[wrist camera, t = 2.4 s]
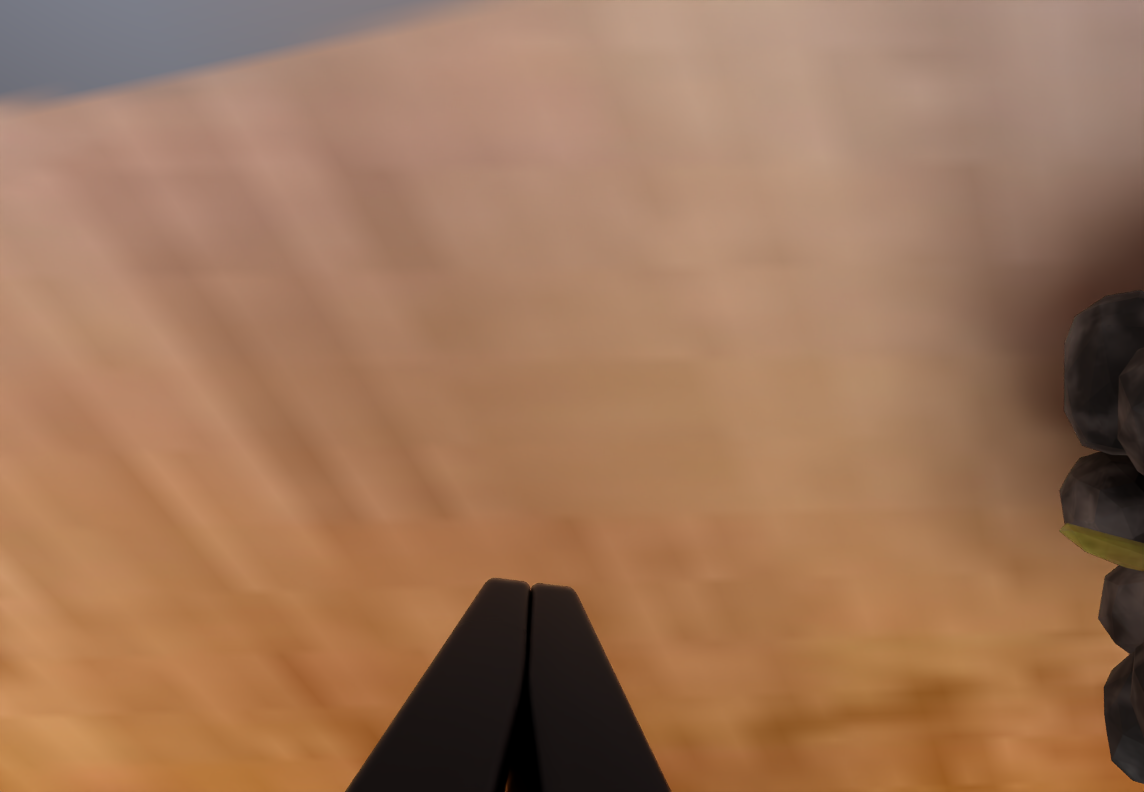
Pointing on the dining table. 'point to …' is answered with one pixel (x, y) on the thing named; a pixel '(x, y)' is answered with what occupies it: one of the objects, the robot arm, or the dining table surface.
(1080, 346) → the fruit
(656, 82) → the dining table surface
